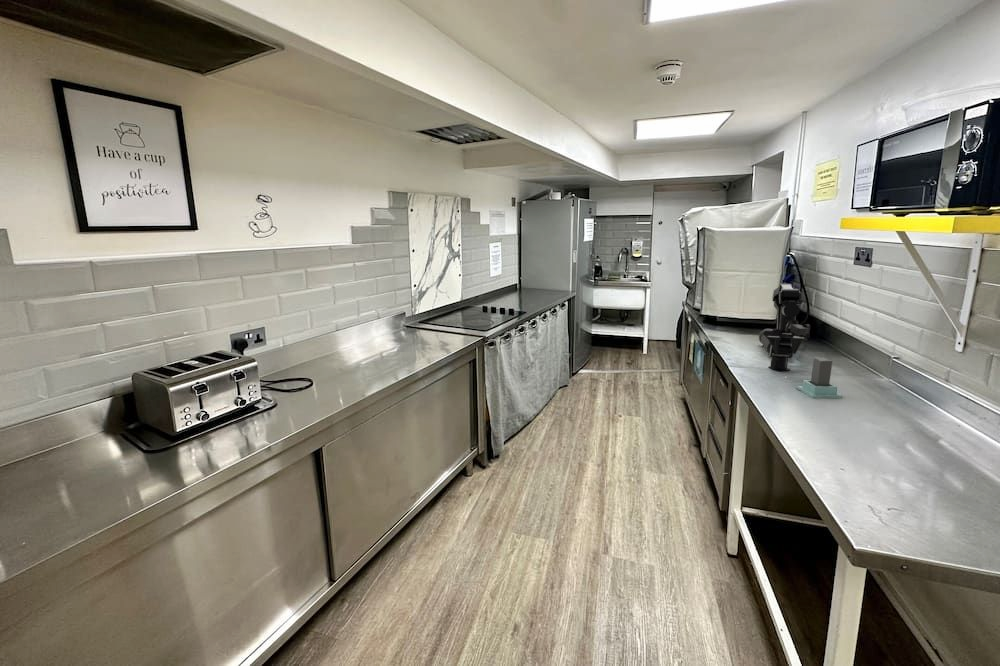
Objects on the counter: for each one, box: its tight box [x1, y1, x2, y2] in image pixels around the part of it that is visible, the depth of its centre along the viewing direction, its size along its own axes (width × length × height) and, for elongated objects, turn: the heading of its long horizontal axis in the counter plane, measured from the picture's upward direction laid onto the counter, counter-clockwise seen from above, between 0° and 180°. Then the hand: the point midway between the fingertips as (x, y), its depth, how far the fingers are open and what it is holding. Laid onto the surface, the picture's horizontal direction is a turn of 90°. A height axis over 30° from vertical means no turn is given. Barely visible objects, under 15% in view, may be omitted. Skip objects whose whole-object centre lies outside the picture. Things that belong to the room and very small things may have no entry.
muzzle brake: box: [758, 328, 774, 355], centre depth 239 cm, size 10×28×10 cm, turn 158°
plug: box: [810, 357, 833, 386], centre depth 179 cm, size 4×4×13 cm
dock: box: [796, 379, 843, 399], centre depth 181 cm, size 11×11×4 cm
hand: (785, 353), depth 195 cm, fingers open, 9 cm apart
